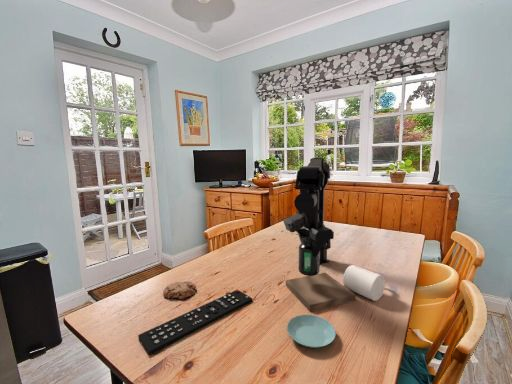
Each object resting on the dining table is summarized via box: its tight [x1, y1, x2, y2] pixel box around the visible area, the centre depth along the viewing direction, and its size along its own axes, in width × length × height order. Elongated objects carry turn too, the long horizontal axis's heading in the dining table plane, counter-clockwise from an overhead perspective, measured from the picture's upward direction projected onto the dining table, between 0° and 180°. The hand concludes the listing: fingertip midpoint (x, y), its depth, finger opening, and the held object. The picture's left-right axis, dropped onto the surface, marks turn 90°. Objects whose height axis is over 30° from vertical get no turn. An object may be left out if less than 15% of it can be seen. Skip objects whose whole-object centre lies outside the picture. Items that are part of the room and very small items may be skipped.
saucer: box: [286, 314, 337, 349], centre depth 64 cm, size 12×12×2 cm
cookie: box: [162, 281, 197, 300], centre depth 86 cm, size 10×11×3 cm
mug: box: [342, 264, 386, 302], centre depth 84 cm, size 12×10×8 cm
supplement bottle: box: [298, 235, 321, 276], centre depth 85 cm, size 7×7×12 cm
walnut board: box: [285, 272, 356, 312], centre depth 84 cm, size 16×16×2 cm
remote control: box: [137, 289, 254, 356], centre depth 73 cm, size 8×32×2 cm, turn 132°
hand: (309, 252), depth 84 cm, fingers closed on supplement bottle, 7 cm apart
